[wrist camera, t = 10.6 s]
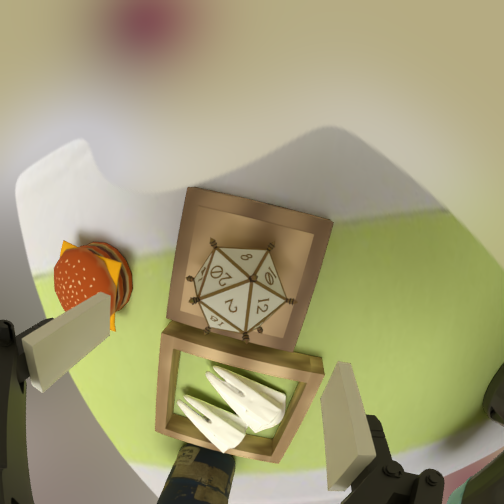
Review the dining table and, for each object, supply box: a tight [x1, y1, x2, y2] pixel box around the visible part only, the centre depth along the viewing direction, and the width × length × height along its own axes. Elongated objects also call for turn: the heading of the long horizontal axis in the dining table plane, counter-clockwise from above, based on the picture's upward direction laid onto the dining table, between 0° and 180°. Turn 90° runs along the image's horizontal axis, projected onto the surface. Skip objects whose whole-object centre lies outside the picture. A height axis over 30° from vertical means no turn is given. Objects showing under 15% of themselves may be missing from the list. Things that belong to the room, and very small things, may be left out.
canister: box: [157, 443, 235, 504], centre depth 29 cm, size 10×10×18 cm
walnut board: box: [166, 187, 334, 352], centre depth 29 cm, size 14×14×3 cm
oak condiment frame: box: [155, 320, 325, 464], centre depth 32 cm, size 18×18×4 cm
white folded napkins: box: [177, 365, 286, 454], centre depth 32 cm, size 12×4×11 cm
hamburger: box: [54, 241, 133, 332], centre depth 29 cm, size 9×10×7 cm
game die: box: [185, 237, 298, 344], centre depth 24 cm, size 9×8×10 cm
